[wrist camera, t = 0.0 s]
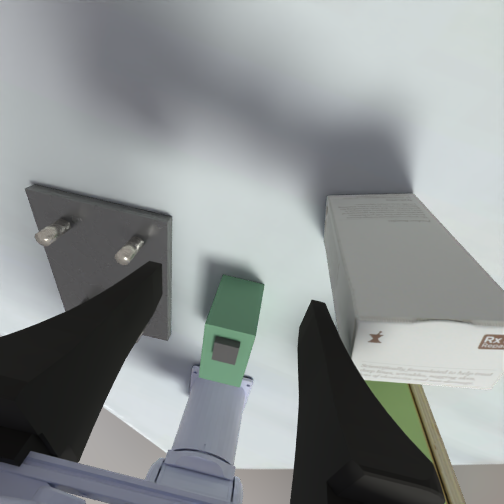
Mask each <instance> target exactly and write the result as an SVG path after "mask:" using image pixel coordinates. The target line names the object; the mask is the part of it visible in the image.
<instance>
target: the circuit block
mask: <svg viewBox="0 0 504 504" xmlns="http://www.w3.org/2000/svg"><path fill="white" fill-rule="evenodd" d="M263 290H264V284H261V283H256V282H252V281H248V280H244V279H240V278H236V277H231V276H227V275H223V276H222V279H221V282H220V285H219V287H218V290H217V293H216V295H215V298H214V301H213V304H212V306H211V309H210V312H209V315H208V317H207V320H206V323H205V329H204V338H203V346H202V354H201V362H200V370H199V378H203V379H207V380H211V381H215V382H219V383H223V384H227V385H231V386H235V387H239V388H240V386H241V382H242V379H243V376H244V373H245V369H246V366H247V363H248V359H249V356H250V353H251V350H252V346H253V343H254V340H255V337H256V331H257V325H258V319H259V314H260V308H261V302H262V296H263Z"/></svg>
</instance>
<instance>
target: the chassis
mask: <svg viewBox="0 0 504 504" xmlns="http://www.w3.org/2000/svg"><path fill="white" fill-rule="evenodd" d="M25 191H26V194H27V197H28V200H29V203H30V206H31V209H32V212H33V215H34V218H35V221H36V224H37V227H38V230H39V232H38V233H37V234H35V239H36V241H37V242H38V243H39V244H41V245H43V246H44V248H45V251H46V254H47V257H48V260H49V263H50V266H51V269H52V272H53V275H54V278H55V281H56V284H57V287H58V290H59V293H60V296H61V299H62V302H63V305H64V308H65V311H68V310H70V309H72V308H74V307H76V306H78V305H80V304H82V303H84V302H86V301H88V300H89V299H91V298H93V297H95V296H96V295H98V294H100V293H101V292H103V291H105V290H106V289H108V288H110V287H111V286H113V285H114V284H116V283H117V282H119V281H120V280H122V279H123V278H125V277H126V276H128V275H129V274H131V273H132V272H134V271H135V270H137V269H138V268H139V267H141V266H142V265H144V264H145V263H147V262H148V261H153V262H157V263H161V264H162V286H163V295H162V297H161V299H160V301H159V304H158V306H157V308H156V310H155V312H154V314H153V316H152V317H151V319H150V320H149V322H148V324H147V325H146V327H145V329H144V330H143V332H142V333H141V335H146V336H150V337H154V338H158V339H162V340H166V341H168V339H169V337H170V335H171V278H172V217H170V216H166V215H162V214H158V213H153V212H149V211H145V210H141V209H137V208H132V207H128V206H124V205H120V204H116V203H111V202H107V201H103V200H99V199H94V198H90V197H86V196H82V195H78V194H73V193H69V192H65V191H61V190H57V189H52V188H48V187H44V186H40V185H35V184H34V185H32V186H30V187H28V188H26V189H25ZM141 335H140V336H139V338H138V340H137V341H136V343H137V342H138V341H139V339H140V337H141Z"/></svg>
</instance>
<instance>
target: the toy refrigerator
mask: <svg viewBox="0 0 504 504" xmlns="http://www.w3.org/2000/svg"><path fill="white" fill-rule="evenodd" d="M365 382H366V384H367V385H368V387H369V388H370V389H371V391H372V392H373V394H374V395H375V397H376V398H377V399H378V400H379V402H380V403H381V404H382V406H383V407H384V408H385V410H386V411H387V412H388V414H389V415H390V416H391V417H392V419H393V420H394V421H395V422H396V423H397V425H398V426H399V427H400V428H401V429H402V430H403V432H404V433H405V434H406V435H407V436H408V437H409V438H410V440H411V441H412V442H413V443H414V444H415V445H416V446H417V447H418V448H419V449H420V450H421V451H422V452H423V453H424V454H425V456H426V457H427V458H428V459H429V460H430V461H431V462H432V463H433V464H434V467H435V470H436V472H437V475H438V477H439V480H440V484H441V487H442V490H443V494H444V497H445V500H446V502H445V504H466V503H465V500H464V497H463V494H462V492H461V489H460V486H459V484H458V481H457V478H456V475H455V473H454V470H453V467H452V465H451V462H450V459H449V457H448V454H447V451H446V449H445V446H444V443H443V441H442V438H441V435H440V433H439V430H438V427H437V425H436V422H435V419H434V417H433V414H432V411H431V409H430V406H429V403H428V401H427V398H426V396H425V393H424V390H423V388H422V385H421V384H411V383H396V382H384V381H371V380H365Z"/></svg>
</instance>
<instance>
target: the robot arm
mask: <svg viewBox="0 0 504 504" xmlns="http://www.w3.org/2000/svg"><path fill="white" fill-rule="evenodd" d="M162 295H163V286H162V264H161V263H157V262H153V261H148V262H147V263H145V264H144V265H142V266H141V267H139V268H138V269H137V270H135V271H134V272H132V273H131V274H129V275H128V276H126V277H125V278H123V279H122V280H120V281H119V282H117V283H116V284H114V285H113V286H111V287H110V288H108V289H106V290H105V291H103V292H101V293H100V294H98V295H96V296H95V297H93V298H91V299H89V300H88V301H86V302H84V303H82V304H80V305H78V306H76V307H74V308H72V309H70V310H68V311H66V312H64V313H62V314H59V315H57V316H55V317H52V318H50V319H48V320H45V321H43V322H41V323H38V324H36V325H33V326H31V327H28V328H25V329H23V330H20V331H17V332H14V333H11V334H8V335H5V336H2V337H0V504H86V503H85V500H83V499H81V498H78V497H76V496H73V495H71V494H75V495H78V496H82V497H86V498H90V499H94V500H98V501H101V502H105V503H109V504H242V499H243V485H242V483H241V481H240V478H239V477H236V476H234V472H235V466H233V465H234V460H235V454H236V448H237V442H238V436H239V430H240V424H241V419H242V413H243V410H244V407H245V405H246V402H247V399H248V396H249V393H250V390H251V388H252V385H253V380H251V379H248V378H244V377H243V379H242V382H241V386H240V388H239V387H235V386H231V385H227V384H223V383H219V382H215V381H211V380H207V379H203V378H199V370H200V366H193V367H192V373H191V384H190V395H189V398H188V401H187V404H186V407H185V410H184V413H183V416H182V419H181V422H180V425H179V428H178V431H177V434H176V437H175V440H174V443H173V446H172V449H171V450H168V452H167V455H166V458H159V459H158V460H157V461H156V462H154V463H153V464H152V466H151V468H150V469H149V471H148V474H147V476H146V478H145V480H143V479H139V478H135V477H131V476H128V475H124V474H120V473H116V472H112V471H108V470H104V469H100V468H96V467H92V466H88V465H84V464H80V463H78V462H79V460H80V458H81V455H82V453H83V451H84V448H85V446H86V443H87V441H88V439H89V436H90V434H91V432H92V429H93V427H94V425H95V422H96V420H97V418H98V416H99V413H100V411H101V409H102V407H103V404H104V402H105V400H106V398H107V396H108V394H109V392H110V390H111V387H112V385H113V383H114V381H115V379H116V377H117V375H118V373H119V371H120V369H121V367H122V365H123V363H124V361H125V359H126V358H127V356H128V354H129V352H130V351H131V349H132V348H133V346H134V344H135V343H136V341H137V340H138V338H139V336H140V335H141V333H142V332H143V330H144V329H145V327H146V325H147V324H148V322H149V320H150V319H151V317H152V316H153V314H154V312H155V310H156V308H157V306H158V304H159V301H160V299H161V297H162ZM298 381H299V410H298V426H297V438H296V451H295V461H294V473H293V482H292V491H291V499H290V504H445V502H446V500H445V497H444V494H443V490H442V487H441V484H440V480H439V477H438V475H437V472H436V470H435V467H434V464H433V463H432V462H431V461H430V460H429V459H428V458H427V457H426V456H425V454H424V453H423V452H422V451H421V450H420V449H419V448H418V447H417V446H416V445H415V444H414V443H413V442H412V441H411V440H410V438H409V437H408V436H407V435H406V434H405V433H404V432H403V430H402V429H401V428H400V427H399V426H398V425H397V423H396V422H395V421H394V420H393V419H392V417H391V416H390V415H389V414H388V412H387V411H386V410H385V408H384V407H383V406H382V404H381V403H380V402H379V400H378V399H377V398H376V397H375V395H374V394H373V392H372V391H371V389H370V388H369V387H368V385H367V384H366V382H365V380H364V379H363V377H362V376H361V374H360V373H359V371H358V369H357V368H356V366H355V364H354V363H353V361H352V359H351V357H350V355H349V354H348V352H347V350H346V348H345V346H344V344H343V342H342V340H341V338H340V336H339V334H338V332H337V330H336V327H335V325H334V323H333V321H332V318H331V316H330V314H329V311H328V309H327V306H326V304H325V303H323V302H319V301H315V300H311V303H310V305H309V307H308V309H307V312H306V314H305V316H304V318H303V320H302V323H301V325H300V327H299V337H298ZM68 493H70V494H68Z"/></svg>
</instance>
